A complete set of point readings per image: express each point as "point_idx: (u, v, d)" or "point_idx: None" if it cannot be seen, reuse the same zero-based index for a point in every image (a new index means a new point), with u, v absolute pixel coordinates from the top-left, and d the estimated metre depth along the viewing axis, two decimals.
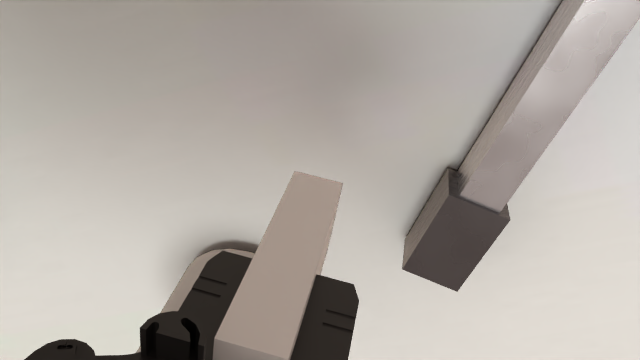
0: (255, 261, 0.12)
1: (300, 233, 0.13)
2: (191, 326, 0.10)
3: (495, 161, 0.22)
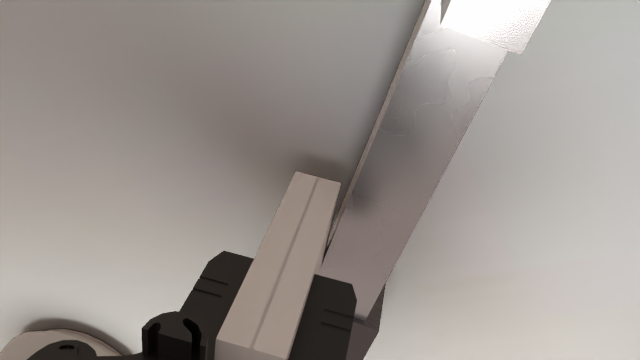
0: (257, 261, 0.12)
1: (298, 233, 0.13)
2: (193, 326, 0.10)
3: (343, 256, 0.15)
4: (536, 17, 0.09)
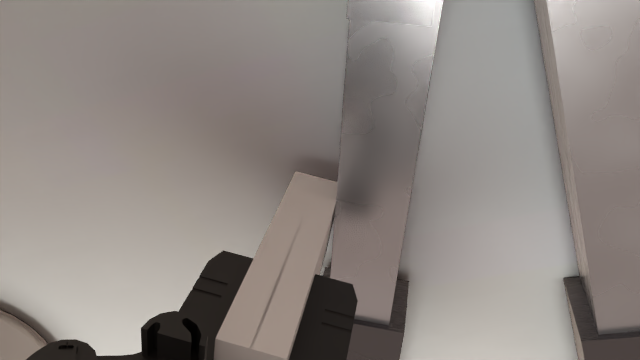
0: (256, 261, 0.12)
1: (299, 233, 0.13)
2: (192, 326, 0.10)
3: (348, 264, 0.15)
4: None
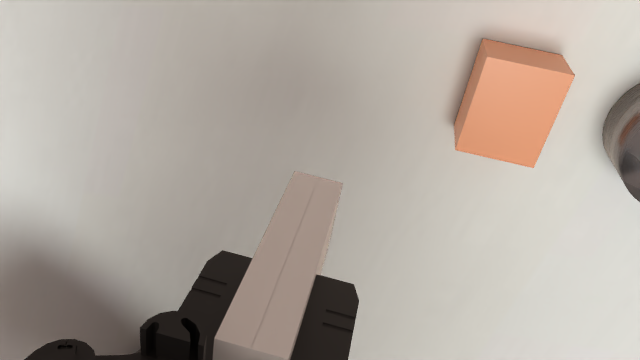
0: (255, 261, 0.12)
1: (300, 233, 0.13)
2: (191, 326, 0.10)
3: None
4: None
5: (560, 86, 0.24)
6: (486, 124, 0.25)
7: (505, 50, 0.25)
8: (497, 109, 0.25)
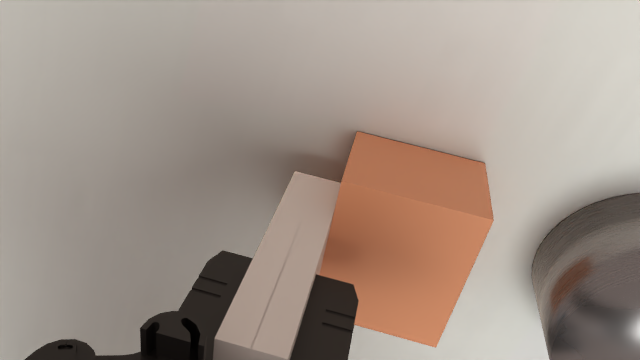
0: (255, 261, 0.12)
1: (300, 233, 0.13)
2: (191, 326, 0.10)
3: None
4: None
5: (470, 234, 0.13)
6: (354, 281, 0.15)
7: (385, 159, 0.15)
8: (369, 261, 0.15)
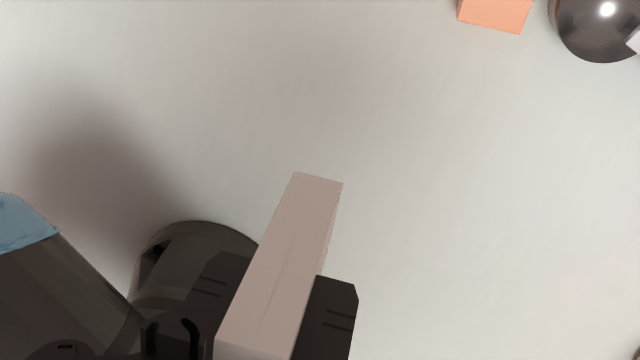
0: (255, 261, 0.12)
1: (300, 233, 0.13)
2: (191, 326, 0.10)
3: None
4: None
5: None
6: None
7: None
8: None
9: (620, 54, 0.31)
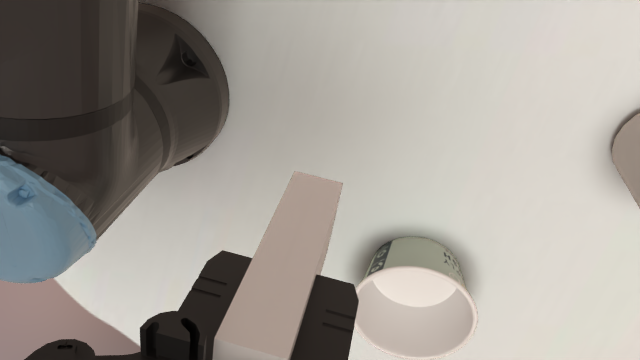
0: (255, 261, 0.12)
1: (300, 233, 0.13)
2: (191, 326, 0.10)
3: None
4: None
5: None
6: None
7: None
8: None
9: None
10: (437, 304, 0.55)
